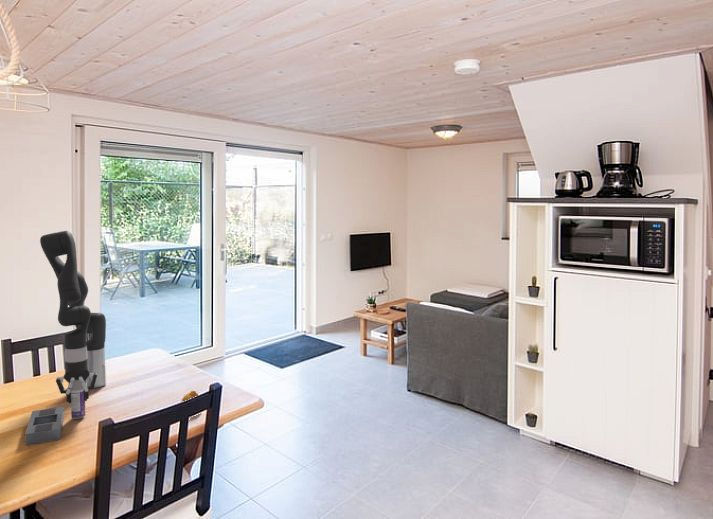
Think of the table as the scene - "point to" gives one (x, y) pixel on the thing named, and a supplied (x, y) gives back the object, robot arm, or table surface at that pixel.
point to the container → (77, 399)
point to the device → (45, 426)
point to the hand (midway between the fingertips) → (77, 401)
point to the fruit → (189, 395)
